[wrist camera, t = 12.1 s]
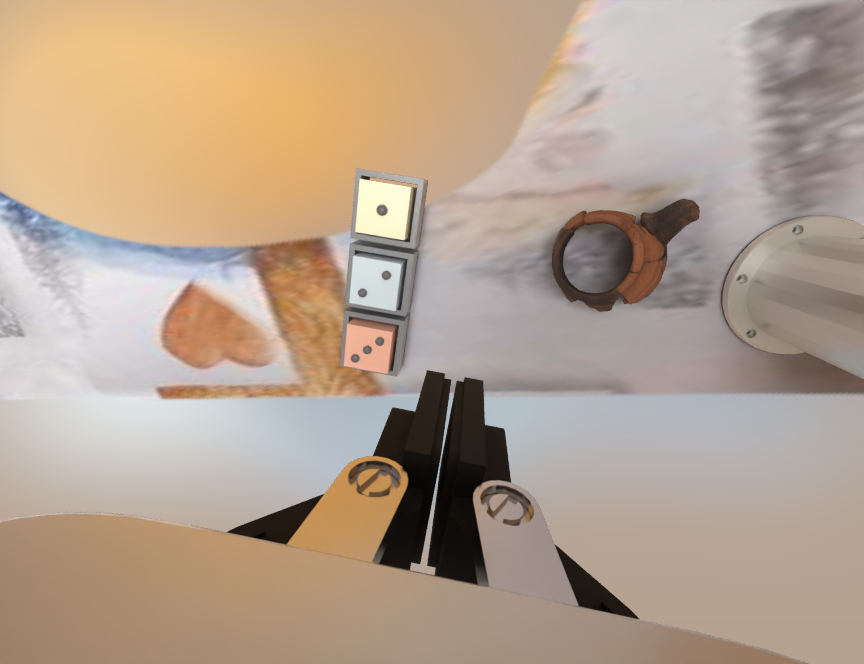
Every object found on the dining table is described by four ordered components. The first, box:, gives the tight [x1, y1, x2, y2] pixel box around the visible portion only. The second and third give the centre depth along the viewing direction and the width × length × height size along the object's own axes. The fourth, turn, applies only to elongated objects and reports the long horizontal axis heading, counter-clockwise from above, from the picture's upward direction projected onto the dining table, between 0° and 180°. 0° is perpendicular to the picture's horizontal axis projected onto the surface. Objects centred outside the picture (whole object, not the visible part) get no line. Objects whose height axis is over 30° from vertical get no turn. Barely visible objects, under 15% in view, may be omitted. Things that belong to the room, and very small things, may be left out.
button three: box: [344, 317, 399, 374], centre depth 40 cm, size 4×4×4 cm
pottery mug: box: [552, 199, 700, 312], centre depth 35 cm, size 12×10×8 cm
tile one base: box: [350, 169, 428, 249], centre depth 37 cm, size 6×6×3 cm
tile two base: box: [345, 240, 418, 316], centre depth 39 cm, size 6×6×3 cm
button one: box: [355, 179, 417, 240], centre depth 36 cm, size 4×4×4 cm
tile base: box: [340, 306, 409, 376], centre depth 41 cm, size 6×6×3 cm
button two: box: [349, 251, 408, 311], centre depth 38 cm, size 4×4×4 cm
